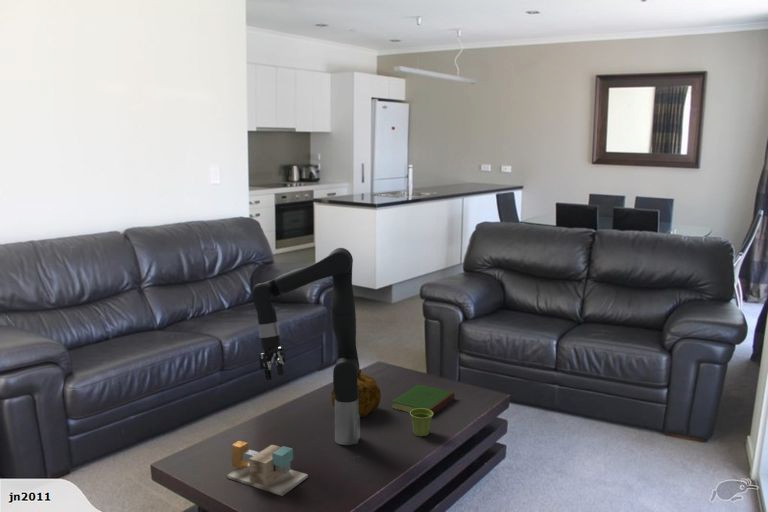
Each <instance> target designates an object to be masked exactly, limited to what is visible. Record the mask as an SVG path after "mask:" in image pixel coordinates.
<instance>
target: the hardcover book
mask: <svg viewBox="0 0 768 512" xmlns="http://www.w3.org/2000/svg"><path fill="white" fill-rule="evenodd" d="M454 400H455V392H453V391H448V390H444V389H441V388H435V387H431V386H427V385H421V384H417V385H415V386H413V387H412V388H410V389H409V390H407V391H405V392H404V393H403V394H401V395H399V396H397V397H396V398H395V399H392V400H391V407H392V409H393V408H395V410H397V409H398V411H401V410H402V412H406V413H409V414H410V411H411V410H413V409H417V408H425V409H429V410H431V411H432V412H433V415H435V414H436V413H438V412H439V411H440V410H441V409H443V408H445V407H446V406H447V405H449V404H450V403H451V402H453V401H454Z"/></svg>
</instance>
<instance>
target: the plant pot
mask: <svg viewBox="0 0 768 512" xmlns="http://www.w3.org/2000/svg"><path fill="white" fill-rule="evenodd" d="M409 414H410V418H411V423H412V431H413V433H412V434H414V435H415V436H417V437H423V436H424V437H426V436H428V435H429V433H430V427H431V421H432V418H433V416H434V414H433V412H432V411H431V410H429V409H425V408H417V409H413V410H411V411H410V413H409Z"/></svg>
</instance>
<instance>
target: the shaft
mask: <svg viewBox="0 0 768 512" xmlns="http://www.w3.org/2000/svg"><path fill="white" fill-rule="evenodd" d="M259 452H260V451H256V450H253V449H249V443H248V442H245V441H241V440H238V441H235V442H234V443H233V444H231V466H232V467H234V468H236V469H237V468H240V469H242V468H243V467H245V466H247V465H248V464H249V458H251V457H253V456H254V455H256V454H258V453H259ZM291 462H292V461H290V462H289V463H288V464H286V465H285V466H283V467H280V466H276V465H273V466H274V470H275V471H278V472H282V473H287V472H288V471H290V470H292V467H291Z"/></svg>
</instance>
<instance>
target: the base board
mask: <svg viewBox="0 0 768 512" xmlns="http://www.w3.org/2000/svg"><path fill="white" fill-rule="evenodd" d="M226 478H227V479H230V480H232V481H236V482H239V483H242V484H243V485H247V486H251V487H254V488H256V489H259V490H262V491H265V492H269V493H272V494H275V495H278V496H281V497H283V496H284V495H286V494H288V493H289V492H290V491H291V490H292V489H294V488H295V487H297V486H298V485H299V484H300V483H302V482H303V481H305V480H306V479H307V478H309V475H308V474H307V473H305V472H301V471H298V470H294V469H291V470H290V471H288V472H287V473H284V474H283V475H281V476H280V477H278V478H277V479H276V480H274V481H273V482H271V483H270V484H268V485H267V486H265V485H262V484H259V483H256V482H252V481H250V465H249V464H248V465H247V466H245V467H243V468H242V469H240V468H236V469H234V470H232V471H231V472H229V473H228V474H226Z"/></svg>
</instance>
